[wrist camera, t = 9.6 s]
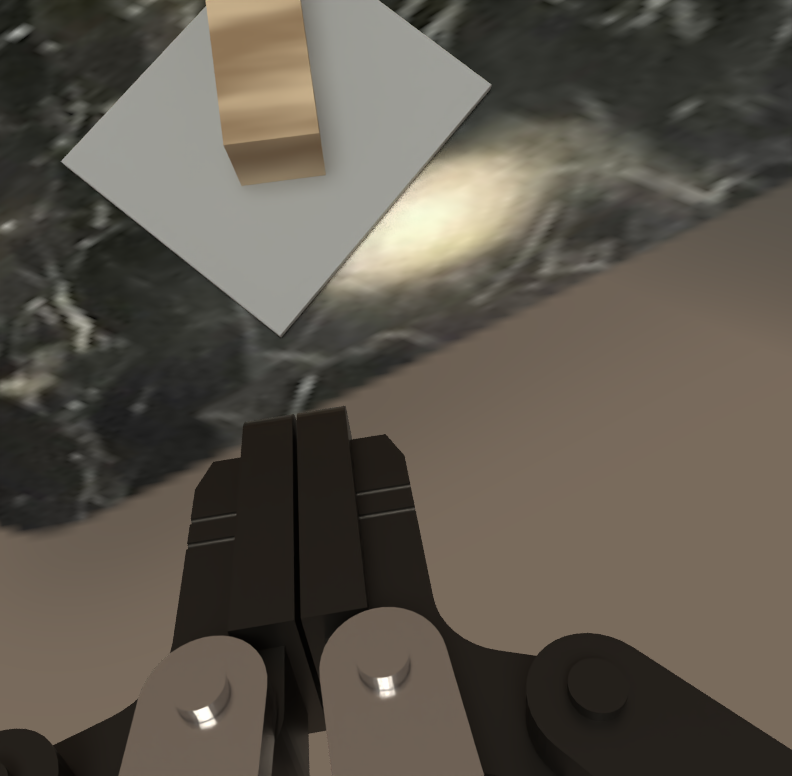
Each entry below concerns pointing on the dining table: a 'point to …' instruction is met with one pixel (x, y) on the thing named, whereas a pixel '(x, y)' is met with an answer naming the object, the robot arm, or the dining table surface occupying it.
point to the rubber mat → (290, 199)
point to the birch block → (265, 89)
